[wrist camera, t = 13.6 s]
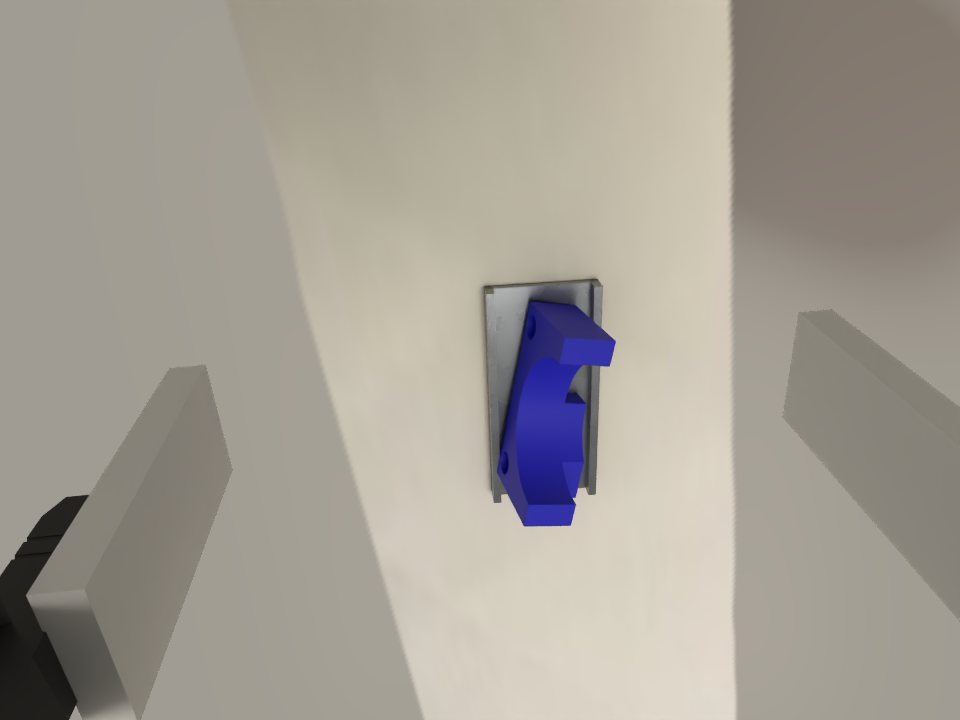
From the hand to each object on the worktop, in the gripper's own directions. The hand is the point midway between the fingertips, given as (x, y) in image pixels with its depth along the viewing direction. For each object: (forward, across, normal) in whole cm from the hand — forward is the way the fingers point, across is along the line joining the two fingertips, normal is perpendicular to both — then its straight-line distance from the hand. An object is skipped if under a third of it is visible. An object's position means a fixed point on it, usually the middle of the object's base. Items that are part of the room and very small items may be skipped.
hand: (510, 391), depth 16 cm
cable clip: (+27, +5, -15) cm, 31 cm away
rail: (+27, +5, -16) cm, 32 cm away
